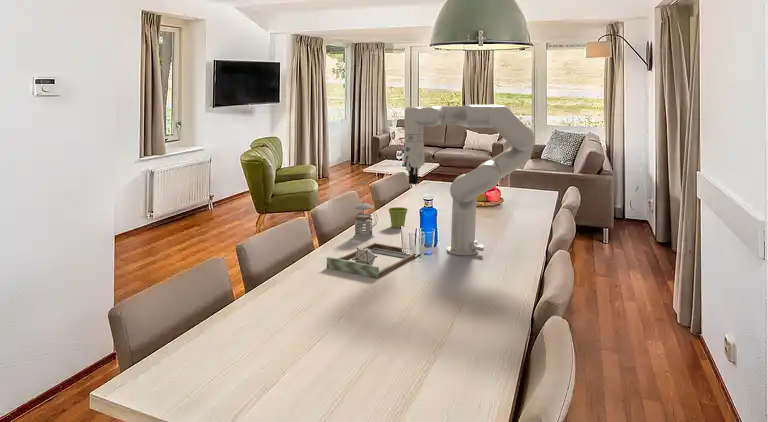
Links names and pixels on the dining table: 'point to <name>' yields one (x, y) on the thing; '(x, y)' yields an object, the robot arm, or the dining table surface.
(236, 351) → the dining table surface
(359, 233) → the french press
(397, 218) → the plant pot
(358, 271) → the shallow open box
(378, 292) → the dining table surface
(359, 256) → the game die
